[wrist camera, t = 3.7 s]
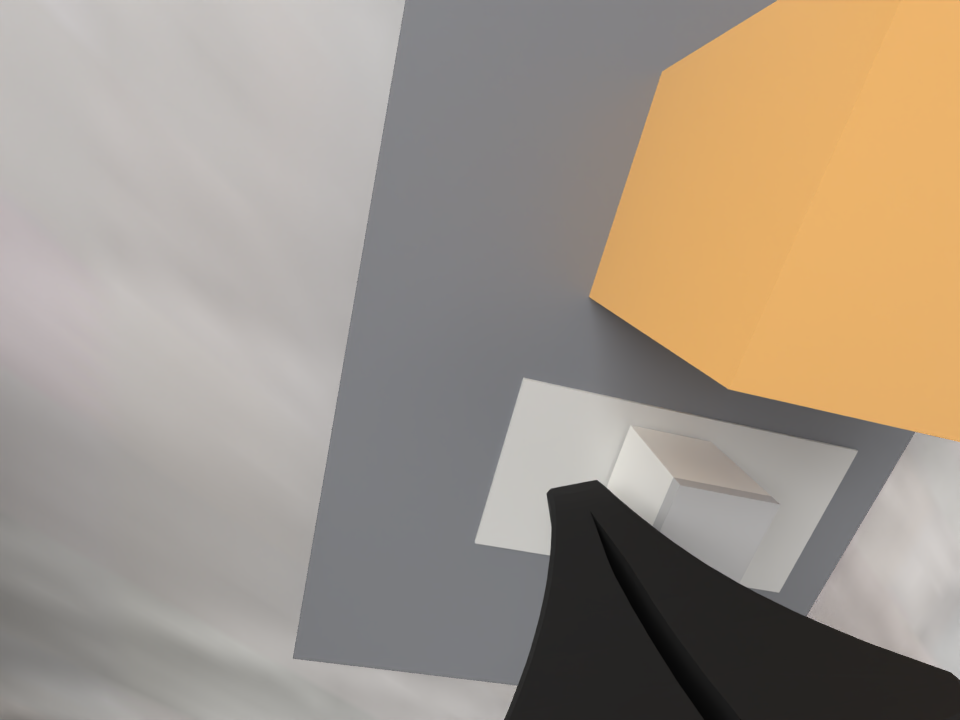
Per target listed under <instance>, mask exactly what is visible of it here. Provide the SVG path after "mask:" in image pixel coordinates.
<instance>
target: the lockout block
mask: <svg viewBox="0 0 960 720" xmlns="http://www.w3.org/2000/svg"><path fill="white" fill-rule="evenodd" d="M589 297H590V298H591V299H593V300H594V301H596V302H597V303H599V304H600V305H602V306H603V307H605V308H606V309H608V310H609V311H611V312H612V313H614V314H615V315H617V316H618V317H620V318H622V319H623V320H625V321H626V322H628V323H629V324H631V325H632V326H634V327H635V328H637V329H638V330H640V331H641V332H643V333H644V334H646V335H647V336H649V337H650V338H652V339H653V340H655V341H656V342H658V343H659V344H661V345H662V346H664V347H665V348H667V349H668V350H670V351H671V352H673V353H674V354H676V355H677V356H679V357H680V358H682V359H683V360H685V361H686V362H688V363H689V364H691V365H692V366H694V367H696V368H697V369H699V370H700V371H702V372H703V373H705V374H706V375H708V376H709V377H711V378H712V379H714V380H715V381H717V382H718V383H720V384H721V385H723V386H724V387H726V388H727V389H729V390H734V391H738V392H743V393H747V394H751V395H756V396H760V397H765V398H769V399H773V400H778V401H782V402H787V403H791V404H795V405H800V406H804V407H809V408H813V409H817V410H822V411H826V412H831V413H835V414H839V415H844V416H848V417H853V418H857V419H861V420H866V421H870V422H875V423H879V424H883V425H888V426H892V427H897V428H901V429H905V430H910V431H914V432H919V433H923V434H927V435H932V436H936V437H941V438H945V439H950V440H954V441H958V442H960V0H777V1H776V2H774V3H772V4H771V5H769V6H767V7H766V8H764V9H763V10H761V11H759V12H758V13H756V14H754V15H753V16H751V17H750V18H748V19H746V20H745V21H743V22H741V23H740V24H738V25H737V26H735V27H733V28H732V29H730V30H728V31H727V32H725V33H724V34H722V35H720V36H719V37H717V38H715V39H714V40H712V41H711V42H709V43H707V44H706V45H704V46H702V47H701V48H699V49H698V50H696V51H694V52H693V53H691V54H689V55H688V56H686V57H685V58H683V59H681V60H680V61H678V62H676V63H675V64H673V65H672V66H670V67H668V68H667V69H665V70H664V71H662V73H661V76H660V79H659V82H658V85H657V88H656V92H655V95H654V98H653V101H652V104H651V107H650V110H649V113H648V116H647V119H646V122H645V125H644V128H643V132H642V135H641V138H640V141H639V144H638V147H637V150H636V153H635V156H634V159H633V162H632V165H631V168H630V172H629V175H628V178H627V181H626V184H625V187H624V190H623V193H622V196H621V199H620V202H619V205H618V208H617V212H616V215H615V218H614V221H613V224H612V227H611V230H610V233H609V236H608V239H607V242H606V245H605V248H604V252H603V255H602V258H601V261H600V264H599V267H598V270H597V273H596V276H595V279H594V282H593V285H592V288H591V292H590V295H589Z"/></svg>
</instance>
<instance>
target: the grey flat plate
mask: <svg viewBox="0 0 960 720" xmlns="http://www.w3.org/2000/svg"><path fill="white" fill-rule="evenodd" d="M776 1H777V0H406V1H405V7H404V12H403V18H402V24H401V30H400V36H399V42H398V47H397V53H396V59H395V65H394V71H393V77H392V83H391V88H390V94H389V100H388V106H387V112H386V118H385V123H384V129H383V135H382V141H381V147H380V153H379V158H378V164H377V170H376V176H375V182H374V188H373V193H372V199H371V205H370V211H369V217H368V223H367V229H366V234H365V240H364V246H363V252H362V258H361V264H360V269H359V275H358V281H357V287H356V293H355V299H354V304H353V310H352V316H351V322H350V328H349V334H348V340H347V345H346V351H345V357H344V363H343V369H342V375H341V380H340V386H339V392H338V398H337V404H336V410H335V415H334V421H333V427H332V433H331V439H330V445H329V450H328V456H327V462H326V468H325V474H324V480H323V486H322V491H321V497H320V503H319V509H318V515H317V521H316V526H315V532H314V538H313V544H312V550H311V556H310V561H309V567H308V573H307V579H306V585H305V591H304V597H303V602H302V608H301V614H300V620H299V626H298V632H297V637H296V643H295V649H294V655H293V659H301V660H309V661H318V662H326V663H334V664H343V665H351V666H359V667H368V668H376V669H384V670H393V671H401V672H409V673H418V674H426V675H434V676H443V677H451V678H460V679H468V680H476V681H485V682H493V683H501V684H510V685H518V683H519V681H520V678H521V675H522V673H523V670H524V667H525V664H526V661H527V658H528V655H529V652H530V649H531V646H532V642H533V638H534V635H535V631H536V628H537V624H538V620H539V616H540V612H541V607H542V603H543V598H544V593H545V587H546V582H547V575H548V567H549V559H550V550H551V528H552V527H551V521H550V514H549V508H548V501H547V494H546V493H547V492H548V491H549V490H550V489H551V488H556V487H561V486H567V485H572V484H577V483H582V482H588V481H593V480H598V481H599V482H601V483H602V484H603V485H604V486H605V487H607V485H608V482H609V480H610V477H611V474H612V472H613V469H614V467H615V464H616V461H617V459H618V456H619V454H620V451H621V448H622V446H623V443H624V441H625V438H626V435H627V433H628V430H629V428H630V425H632V426H637V427H642V428H647V429H652V430H656V431H661V432H666V433H671V434H676V435H680V436H685V437H690V438H695V439H700V440H704V441H709V442H712V443H713V444H714V445H715V446H716V447H717V448H719V449H720V450H721V451H722V452H723V453H724V454H725V455H726V456H727V457H728V458H730V459H731V460H732V461H733V462H734V463H735V464H736V465H737V466H738V467H740V468H741V469H742V470H743V471H744V472H745V473H746V474H747V475H748V476H749V477H751V478H752V479H753V480H754V481H755V482H756V483H757V484H758V485H759V486H761V487H762V488H763V489H764V490H765V491H766V492H767V493H768V494H769V495H770V496H772V497H773V498H774V499H775V500H776V501H777V502H778V503H779V504H780V506H779V508H778V510H777V512H776V514H775V516H774V518H773V520H772V522H771V524H770V526H769V528H768V529H767V531H766V533H765V535H764V537H763V539H762V541H761V543H760V545H759V547H758V549H757V551H756V552H755V554H754V556H753V558H752V560H751V562H750V564H749V566H748V568H747V570H746V572H745V574H744V575H743V577H742V579H741V581H740V584H741V585H743V586H745V587H747V588H749V589H751V590H753V591H754V592H756V593H758V594H760V595H762V596H764V597H766V598H768V599H770V600H772V601H774V602H776V603H778V604H780V605H783V606H785V607H787V608H789V609H791V610H793V611H795V612H797V613H799V614H801V615H804V616H807V614H808V612H809V611H810V609H811V607H812V605H813V604H814V602H815V600H816V599H817V597H818V595H819V594H820V592H821V590H822V589H823V587H824V585H825V584H826V582H827V580H828V578H829V577H830V575H831V573H832V572H833V570H834V568H835V567H836V565H837V563H838V562H839V560H840V558H841V556H842V555H843V553H844V551H845V550H846V548H847V546H848V545H849V543H850V541H851V540H852V538H853V536H854V535H855V533H856V531H857V529H858V528H859V526H860V524H861V523H862V521H863V519H864V518H865V516H866V514H867V513H868V511H869V509H870V508H871V506H872V504H873V502H874V501H875V499H876V497H877V496H878V494H879V492H880V491H881V489H882V487H883V486H884V484H885V482H886V480H887V479H888V477H889V475H890V474H891V472H892V470H893V469H894V467H895V465H896V464H897V462H898V460H899V459H900V457H901V455H902V453H903V452H904V450H905V448H906V447H907V445H908V443H909V442H910V440H911V438H912V437H913V435H914V433H915V432H914V431H910V430H905V429H901V428H897V427H892V426H888V425H883V424H879V423H875V422H870V421H866V420H861V419H857V418H853V417H848V416H844V415H839V414H835V413H831V412H826V411H822V410H817V409H813V408H809V407H804V406H800V405H795V404H791V403H787V402H782V401H778V400H773V399H769V398H765V397H760V396H756V395H751V394H747V393H743V392H738V391H734V390H729V389H727V388H726V387H724V386H723V385H721V384H720V383H718V382H717V381H715V380H714V379H712V378H711V377H709V376H708V375H706V374H705V373H703V372H702V371H700V370H699V369H697V368H696V367H694V366H692V365H691V364H689V363H688V362H686V361H685V360H683V359H682V358H680V357H679V356H677V355H676V354H674V353H673V352H671V351H670V350H668V349H667V348H665V347H664V346H662V345H661V344H659V343H658V342H656V341H655V340H653V339H652V338H650V337H649V336H647V335H646V334H644V333H643V332H641V331H640V330H638V329H637V328H635V327H634V326H632V325H631V324H629V323H628V322H626V321H625V320H623V319H622V318H620V317H618V316H617V315H615V314H614V313H612V312H611V311H609V310H608V309H606V308H605V307H603V306H602V305H600V304H599V303H597V302H596V301H594V300H593V299H591V298H590V297H589V295H590V292H591V288H592V285H593V282H594V279H595V276H596V273H597V270H598V267H599V264H600V261H601V258H602V255H603V252H604V248H605V245H606V242H607V239H608V236H609V233H610V230H611V227H612V224H613V221H614V218H615V215H616V212H617V208H618V205H619V202H620V199H621V196H622V193H623V190H624V187H625V184H626V181H627V178H628V175H629V172H630V168H631V165H632V162H633V159H634V156H635V153H636V150H637V147H638V144H639V141H640V138H641V135H642V132H643V128H644V125H645V122H646V119H647V116H648V113H649V110H650V107H651V104H652V101H653V98H654V95H655V92H656V88H657V85H658V82H659V79H660V76H661V73H662V71H664V70H665V69H667V68H668V67H670V66H672V65H673V64H675V63H676V62H678V61H680V60H681V59H683V58H685V57H686V56H688V55H689V54H691V53H693V52H694V51H696V50H698V49H699V48H701V47H702V46H704V45H706V44H707V43H709V42H711V41H712V40H714V39H715V38H717V37H719V36H720V35H722V34H724V33H725V32H727V31H728V30H730V29H732V28H733V27H735V26H737V25H738V24H740V23H741V22H743V21H745V20H746V19H748V18H750V17H751V16H753V15H754V14H756V13H758V12H759V11H761V10H763V9H764V8H766V7H767V6H769V5H771V4H772V3H774V2H776Z"/></svg>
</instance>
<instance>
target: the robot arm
mask: <svg viewBox="0 0 960 720" xmlns="http://www.w3.org/2000/svg"><path fill="white" fill-rule="evenodd" d="M546 494H547V501H548V508H549V514H550V521H551V527H552V528H551V550H550V559H549V567H548V575H547V582H546V587H545V593H544V598H543V603H542V607H541V612H540V616H539V620H538V624H537V628H536V631H535V635H534V638H533V642H532V646H531V649H530V652H529V655H528V658H527V661H526V664H525V667H524V670H523V673H522V675H521V678H520V681H519V683H518V686H517V689H516V692H515V694H514V697H513V700H512V702H511V705H510V707H509V710H508V712H507V715H506V717H505V719H504V720H960V680H959V679H958V678H957V677H956V676H954V675H953V674H952V673H951V672H948V671H945V670H942V669H940V668H937V667H934V666H931V665H928V664H926V663H923V662H920V661H917V660H914V659H912V658H909V657H906V656H903V655H901V654H898V653H895V652H892V651H889V650H887V649H884V648H881V647H878V646H875V645H873V644H870V643H867V642H865V641H862V640H860V639H857V638H855V637H853V636H850V635H848V634H845V633H843V632H841V631H838V630H836V629H833V628H831V627H829V626H826V625H824V624H821V623H819V622H817V621H815V620H812V619H810V618H808V617H806V616H804V615H801V614H799V613H797V612H795V611H793V610H791V609H789V608H787V607H785V606H783V605H780V604H778V603H776V602H774V601H772V600H770V599H768V598H766V597H764V596H762V595H760V594H758V593H756V592H754V591H753V590H751V589H749V588H747V587H745V586H743V585H741V584H740V583H738V582H736V581H734V580H733V579H731V578H729V577H727V576H726V575H724V574H722V573H721V572H719V571H717V570H715V569H714V568H712V567H710V566H709V565H707V564H705V563H704V562H702V561H701V560H699V559H698V558H696V557H695V556H693V555H692V554H690V553H689V552H687V551H686V550H685V549H683V548H682V547H680V546H679V545H677V544H676V543H674V542H673V541H672V540H670V539H669V538H668V537H666V536H665V535H663V534H662V533H661V532H660V531H658V530H657V529H656V528H654V527H653V526H652V525H651V524H649V523H648V522H647V521H645V520H644V519H643V518H641V517H640V516H639V515H638V514H637V513H635V512H634V511H633V510H632V509H631V508H629V507H628V506H627V505H626V504H625V503H623V502H622V501H621V500H620V499H619V498H618V497H616V496H615V495H614V494H613V493H612V492H611V491H610V490H609V489H607V488H606V487H605V486H604V485H603V484H602V483H601V482H599V481H598V480H593V481H588V482H582V483H577V484H572V485H567V486H561V487H556V488H551V489H550V490H549V491H548V492H547V493H546Z"/></svg>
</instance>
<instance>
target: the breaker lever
mask: <svg viewBox="0 0 960 720" xmlns="http://www.w3.org/2000/svg"><path fill="white" fill-rule="evenodd" d="M606 488H607V489H609V490H610V491H611V492H612V493H613V494H614V495H615V496H616V497H618V498H619V499H620V500H621V501H622V502H623V503H625V504H626V505H627V506H628V507H629V508H631V509H632V510H633V511H634V512H635V513H637V514H638V515H639V516H640V517H641V518H643V519H644V520H645V521H647V522H648V523H649V524H651V525H652V526H653V527H654V528H656V529H657V530H658V531H660V532H661V533H662V534H663V535H665V536H666V537H668V538H669V539H670V540H672V541H673V542H674V543H676V544H677V545H679V546H680V547H682V548H683V549H685V550H686V551H687V552H689V553H690V554H692V555H693V556H695V557H696V558H698V559H699V560H701V561H702V562H704V563H705V564H707V565H709V566H710V567H712V568H714V569H715V570H717V571H719V572H721V573H722V574H724V575H726V576H727V577H729V578H731V579H733V580H734V581H736V582H738V583H740V581H741V579H742V577H743V575H744V574H745V572H746V570H747V568H748V566H749V564H750V562H751V560H752V558H753V556H754V554H755V552H756V551H757V549H758V547H759V545H760V543H761V541H762V539H763V537H764V535H765V533H766V531H767V529H768V528H769V526H770V524H771V522H772V520H773V518H774V516H775V514H776V512H777V510H778V508H779V506H780V504H779V503H778V502H777V501H776V500H775V499H774V498H773V497H772V496H770V495H769V494H768V493H767V492H766V491H765V490H764V489H763V488H762V487H761V486H759V485H758V484H757V483H756V482H755V481H754V480H753V479H752V478H751V477H749V476H748V475H747V474H746V473H745V472H744V471H743V470H742V469H741V468H740V467H738V466H737V465H736V464H735V463H734V462H733V461H732V460H731V459H730V458H728V457H727V456H726V455H725V454H724V453H723V452H722V451H721V450H720V449H719V448H717V447H716V446H715V445H714V444H713V443H712V442H709V441H704V440H700V439H695V438H690V437H685V436H680V435H676V434H671V433H666V432H661V431H656V430H652V429H647V428H642V427H637V426H632V425H630V428H629V430H628V433H627V435H626V438H625V441H624V443H623V446H622V448H621V451H620V454H619V456H618V459H617V461H616V464H615V467H614V469H613V472H612V474H611V477H610V480H609V482H608V485H607V487H606Z"/></svg>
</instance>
